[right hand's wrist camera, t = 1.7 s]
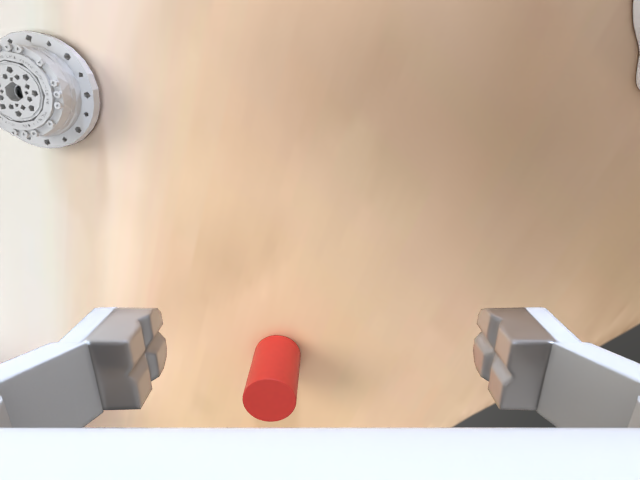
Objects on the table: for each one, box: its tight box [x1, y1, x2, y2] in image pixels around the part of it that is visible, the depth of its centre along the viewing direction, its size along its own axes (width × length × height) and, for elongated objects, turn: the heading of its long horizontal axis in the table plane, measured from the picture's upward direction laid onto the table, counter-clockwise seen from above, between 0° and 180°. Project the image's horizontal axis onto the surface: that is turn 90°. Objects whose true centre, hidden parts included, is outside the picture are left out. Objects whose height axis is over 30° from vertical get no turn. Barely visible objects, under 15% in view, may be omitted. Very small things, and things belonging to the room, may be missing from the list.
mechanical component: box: [0, 31, 100, 148], centre depth 35 cm, size 10×4×10 cm
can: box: [243, 335, 300, 421], centre depth 44 cm, size 5×5×8 cm
